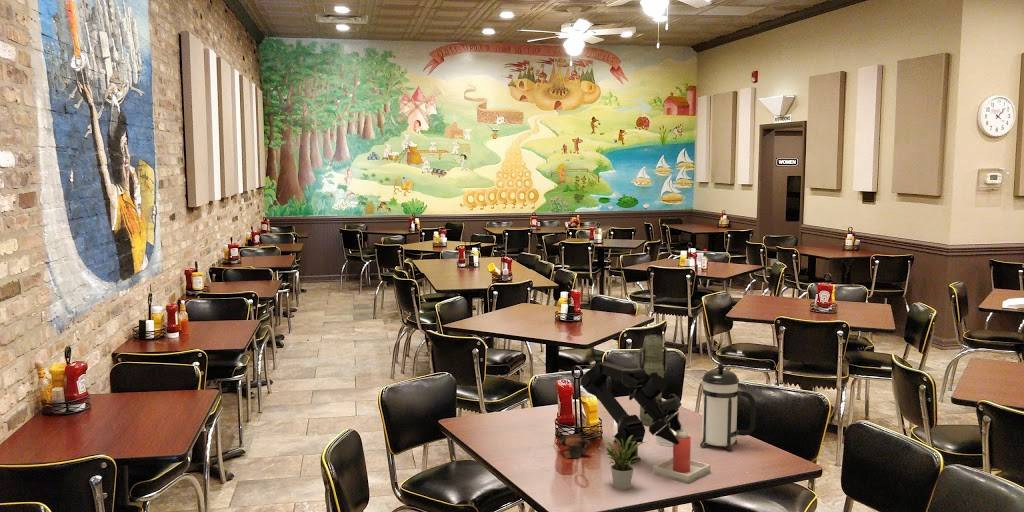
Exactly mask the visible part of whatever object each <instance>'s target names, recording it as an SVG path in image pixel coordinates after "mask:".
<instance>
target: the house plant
mask: <svg viewBox="0 0 1024 512" xmlns="http://www.w3.org/2000/svg"><path fill="white" fill-rule="evenodd" d="M614 436H615V435H612V437H613V439H615V440H616V442H617V443H616V445H617V448H618V452H619V453H620V457H621V459H620V457H619V453H618V452H617V451H616V449H615V447H614V445H612V444H611V443H610V442H608V441H607V440H604V439H603V440H604V442H605V443H607V444H608V445H609V446H608V445H606V444H605V443H603V446H604V447H605V449H606V451H607V453H606V455H607V458H609V459H611V460H613V461H610V462H609V465H610V464H612V465H610V470H611V476H612V478H611V479H612V483H613V487H614V489H617V490H627V489H628V490H629V489H630V488H631V485H632V484H631V483H632V479H633V474H634V466H633V465H631V464H630V463H631V462H634V463H637V462H641V460H639V461H638V460H633V459H635V458H641V457H640V456H634V457H632V458H631V459H630V461H628V459H629V457H630V455H631V454H632V453H633V452H634V451H635V450H636V449H637V448H636V447H638V448H639V446H640V445H642V444H645V443H647V441H643V442H640V443H638V444H637V445H635V446H634V447H633V445H634V444H635V442H636V441H635V442H633V443H632V445H631V447H630V450H629V451H628V452H627V448H629V447H628V445H629V443H630V441H631V438H632V436H633V435H632V436H630V437H629V438H628V440H627V442H626V444H625V449H624V444H623V440H622V438H621V440H622V446H621V443H620V441H619V440H618V439H617V438H615V437H614ZM615 440H614V441H615ZM629 446H630V445H629ZM632 447H633V448H634V449H633V448H632ZM632 449H633V450H632ZM631 450H632V452H631ZM630 452H631V453H630ZM636 461H637V462H636Z"/></svg>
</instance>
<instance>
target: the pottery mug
mask: <svg viewBox="0 0 1024 512" xmlns="http://www.w3.org/2000/svg"><path fill="white" fill-rule="evenodd" d="M591 443H592V442H591V440H589V439H587V438H586V439H582V438H581V435H579V434H568V435H563V436H560V437H559V442H558V445H557V446H558V447H559V446H563V447H567V449H568V451H564V452H563V455H564V459H571V458H572V459H581V457H582V455H585V453H587V452H589V451H590V450H591V448H592V444H591Z"/></svg>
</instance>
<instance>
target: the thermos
mask: <svg viewBox="0 0 1024 512" xmlns="http://www.w3.org/2000/svg"><path fill="white" fill-rule="evenodd" d="M637 369H644V370H645V371H646V373H647V374H649V375H650V374H651V373H655V372H657V374H658V375H659V376H661V377H662V378H664V376H665V373H667V369H668V349H667V348H666V346H664V345H663V339H662V336H660V335H659V334H647V335H645V336H644V339H643V343H642V347H640V348H639V349H638V351H637ZM655 398H657V399H661V400H662V401H663V392H662V393H660V394H659V395H658V396H657V397H655ZM644 411H645V410H644V409H643V408H642V407H641V406H640V405H639V419H640V421H642V422H643V423H642V424H643V426H644V427H650V426H651V425H652V424H653V423H652V421H653V420H652V418H651V417H650V416H649V415H648V414H646V415H645V414H644Z"/></svg>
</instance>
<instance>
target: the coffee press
mask: <svg viewBox="0 0 1024 512" xmlns="http://www.w3.org/2000/svg"><path fill="white" fill-rule="evenodd" d="M739 382H740V379H739V377H738V376H737V374H736V373H735V372H733V371H730V370H727V369H725V366H724V364H722V363H721V364H718V365H717V369H711V370H708V371H706V372H704V374H703V376H702V377H701V380H700V381H699V382H698V384H699V385H701V386H702V418H701V419H702V420H701V421H702V422H701V423H702V425H701V438H702V441H701V442H700V445H699V446H700V447H701V448H703V449H705V448H706V447H707V446H708V445H711V446H716V447H724V448H725V449H726V451H727V452H733V447H732V445H736V444H737V443H738V440H737V436H741V437H745V436H749V435H751V434H752V433H753V432H754V430H755V428H756V419H757V418H756V415H757V414H756V413H757V412H756V411H757V405H756V399H755V397H754V396H753V394H751V393H750V392H747V391H746V390H742V391H741V390H739V389H738V385H739ZM741 396H742V397H745V398H747V400H748V401H749V403H750V405H749V406H750V413H749V415H750V416H749V427H748V429H747V430H741V429H740V430H739V429H738V428H737V423H738V421H737V420H738V419H737V416H738V397H741Z"/></svg>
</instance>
